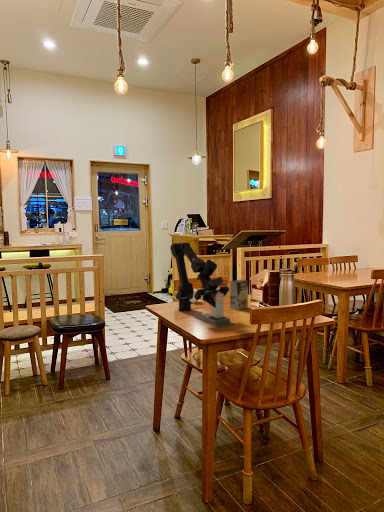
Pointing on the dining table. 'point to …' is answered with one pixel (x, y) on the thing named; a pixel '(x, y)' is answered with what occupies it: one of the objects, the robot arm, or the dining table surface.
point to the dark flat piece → (218, 323)
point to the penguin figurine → (193, 296)
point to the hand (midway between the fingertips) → (218, 306)
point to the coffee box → (238, 294)
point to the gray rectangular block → (217, 306)
